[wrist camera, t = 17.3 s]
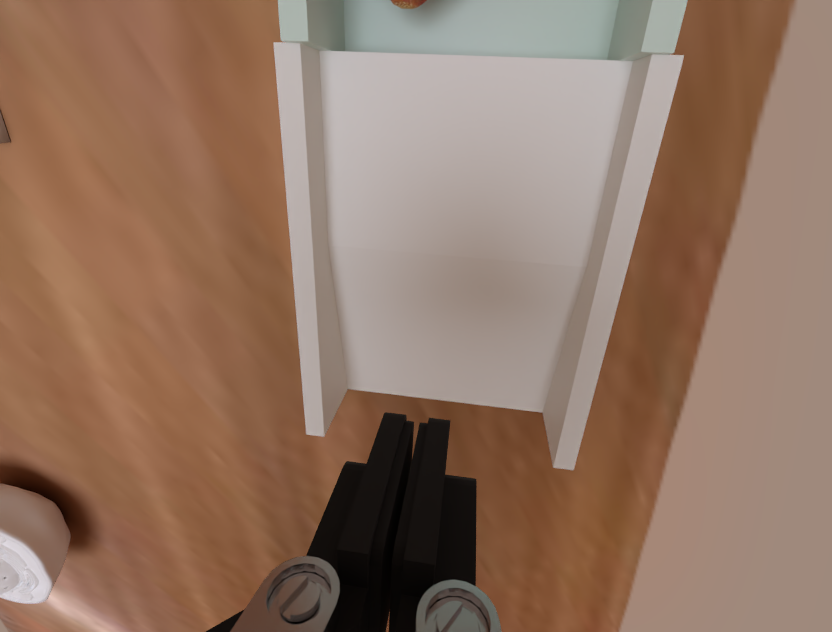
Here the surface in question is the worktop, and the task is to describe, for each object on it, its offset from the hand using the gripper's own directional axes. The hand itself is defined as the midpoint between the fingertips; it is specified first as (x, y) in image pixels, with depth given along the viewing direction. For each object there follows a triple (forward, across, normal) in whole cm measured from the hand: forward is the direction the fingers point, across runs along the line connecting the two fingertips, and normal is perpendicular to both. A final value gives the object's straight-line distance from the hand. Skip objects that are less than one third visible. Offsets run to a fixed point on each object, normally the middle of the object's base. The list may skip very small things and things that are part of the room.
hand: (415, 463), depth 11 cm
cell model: (+15, +34, +23) cm, 44 cm away
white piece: (+15, 0, -2) cm, 15 cm away
